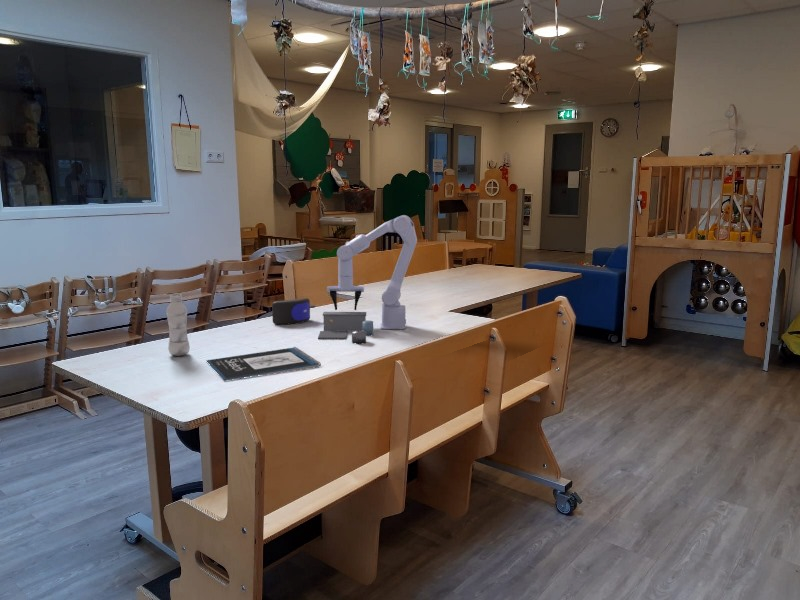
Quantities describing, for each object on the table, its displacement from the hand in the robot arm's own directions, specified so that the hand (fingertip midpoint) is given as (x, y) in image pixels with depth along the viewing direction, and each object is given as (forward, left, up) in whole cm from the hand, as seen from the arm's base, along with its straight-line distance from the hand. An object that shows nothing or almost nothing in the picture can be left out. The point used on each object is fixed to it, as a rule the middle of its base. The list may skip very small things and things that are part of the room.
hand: (345, 309), depth 240 cm
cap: (-6, +26, -6) cm, 27 cm away
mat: (+4, +17, -6) cm, 19 cm away
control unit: (0, +8, -6) cm, 10 cm away
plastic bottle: (+52, +43, -7) cm, 68 cm away
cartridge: (-9, +15, -6) cm, 19 cm away
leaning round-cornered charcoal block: (+22, -5, -7) cm, 24 cm away
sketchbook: (+23, +53, -7) cm, 58 cm away
